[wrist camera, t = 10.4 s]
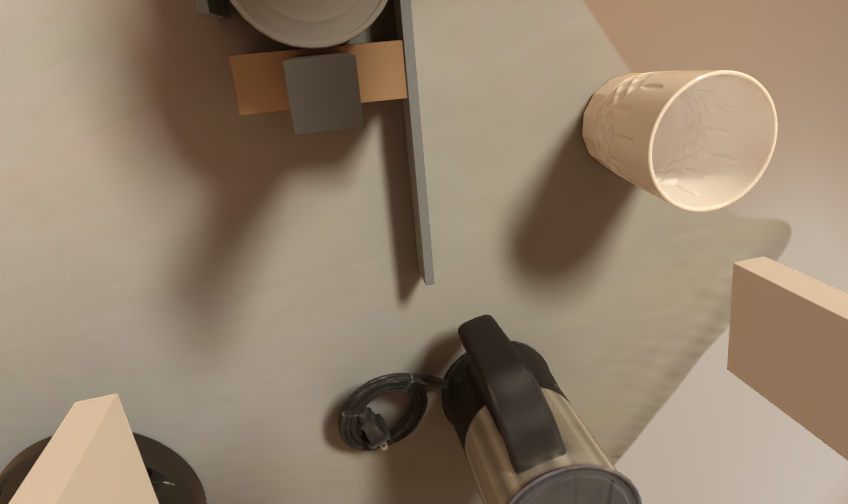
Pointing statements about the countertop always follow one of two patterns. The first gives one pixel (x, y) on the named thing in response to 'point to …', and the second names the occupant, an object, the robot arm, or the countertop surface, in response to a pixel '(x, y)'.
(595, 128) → the white cup
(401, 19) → the frame
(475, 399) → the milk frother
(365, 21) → the canned tomato
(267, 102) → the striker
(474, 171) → the countertop surface
